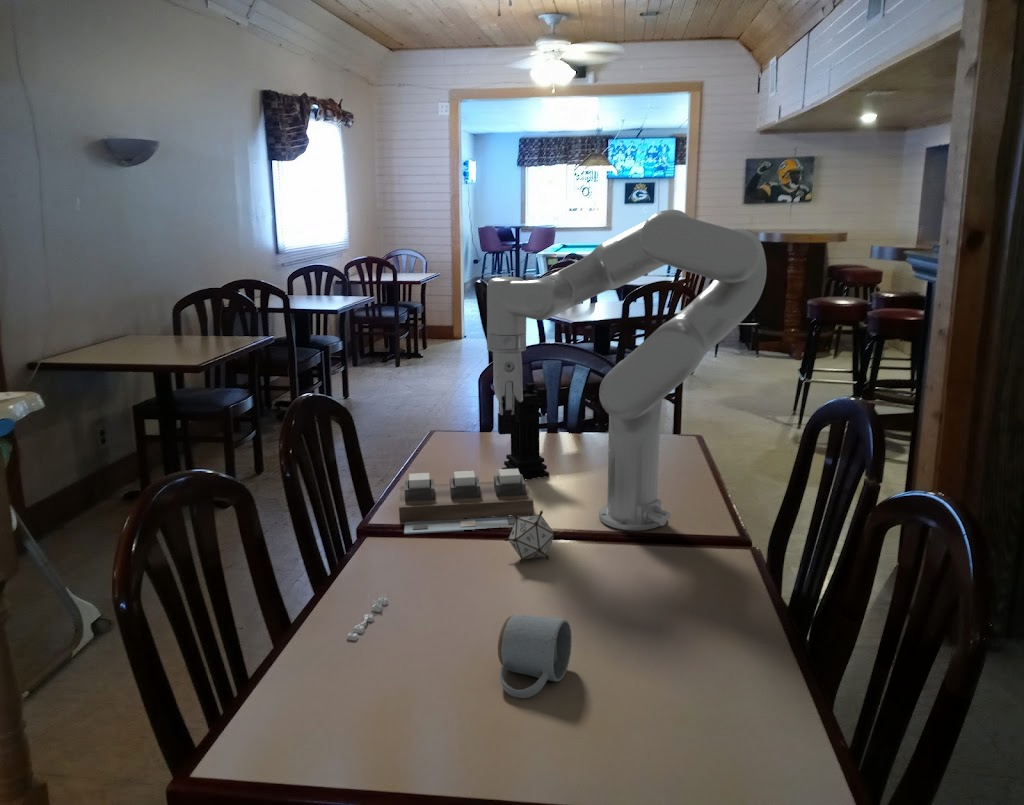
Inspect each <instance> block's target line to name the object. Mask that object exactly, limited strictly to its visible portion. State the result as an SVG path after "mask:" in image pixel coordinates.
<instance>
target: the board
mask: <svg viewBox="0 0 1024 805" xmlns="http://www.w3.org/2000/svg"><path fill="white" fill-rule="evenodd" d="M429 480H430V488H412V489H409V479H405V480H404V485H402V486H400V491H399V505H398V516H399V523H404V530H403V534H404V535H413V534H414V535H415V534H430V533H431V534H432V533H451V532H465V531H464V530H472V531H476V530H475V529H487V528H499V527H501V528H503V527H513V525H514V523H515V520H516V518H515V517H514V516H509V515H514V514H515V515H523V516H517V517H525V516H529V515H528V514H533V515H534V499H533V496H532V494H531V491H530V488H529V486H528V483H527V480H524V478H523V476H522V474H520V483H512V484H499V474H498V475H493V481H483V482H481V481H480V478H479V476H475V485H472V486H455V483H454V477H449V483H441V484H439V483H438V484H435V479H434V478H429ZM492 516H504V517H492ZM479 517H486V518H479ZM464 518H467V519H464Z"/></svg>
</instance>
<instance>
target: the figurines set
mask: <svg viewBox="0 0 1024 805" xmlns="http://www.w3.org/2000/svg"><path fill="white" fill-rule="evenodd" d="M387 594H388V592H387V591H385V594H382V593H380V595H379V598H378V599H377V600H375V599H372V595H371V594H368V595H367V598H368V599H369V600H370V603H371V604H372V606H371V612H375V613H377V612H378V613H381V612H382V611H383V606H387V605H388V604H389V599H388V598H386V597H387ZM374 616H375V615H373V614H367V613H366V614H364V615H363V616H362V622H360V623H359V624H357V625H355V626H354V627H353V629H352V632H349V633H348V634H347V635H346V640H348V641H357V640H359V634H363V633H364V632H365V631H366V628H365V627H364V626H367V623H369V622H370V623H372V622H374V620H375V617H374ZM363 625H364V626H363Z"/></svg>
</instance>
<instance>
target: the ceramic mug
mask: <svg viewBox="0 0 1024 805" xmlns="http://www.w3.org/2000/svg"><path fill="white" fill-rule="evenodd" d="M572 639H573V638H572V628H571V624H570V623H569V621H568V619H566V618H558V617H557V618H556V617H547V616H536V615H529V614H528V615H527V614H512V615H511V616H509V617H507V618H506V619H505V621H504V622H503V624H502V626H501V628H500V631H499V635H498V640H497V656H498V660H499V662H500V665H501V667H500V671H499V679H500V684H501V686H502V689H503V690H504V691H505V693H507V694H508V695H509V696H511V697H513V698H516V697H517V698H516V699H528V698H531V697H534V696H535V695H536V694H538V693H539V692H540V691H541V690H542V689H543V688H544V686H545V685H546V683H547V681H550V682H556V683H557V682H560V681H562V680H563V678H564V676H565V674H566V673H567V669H568V667H569V664H570V659H571V654H572V642H573V641H572ZM508 671H511V672H514V673H517V674H523V675H527V676H529V677H530V676H531V677H534V678H538V679H537V680H536V681H535V682H534V683H533V684H532V685H530V686H529V687H525V688H524V689H516V688H513V686H512V685H509V684H508V683H507V681H506V676H507V672H508Z"/></svg>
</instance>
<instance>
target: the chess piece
mask: <svg viewBox="0 0 1024 805" xmlns="http://www.w3.org/2000/svg"><path fill="white" fill-rule="evenodd" d="M547 394H548V393H547V388H545V387H537V388H536V384H535V383H533V382H527V383H525V388H524V389H523V401H522V402H519V401H517V399H516V397H515V400H514V401H515V403H514V414H515V433H514V434H510V454H505V455H506V457H505V458H506V460H504V461H503V465H504V467H501V469H518V470H519V473H520V474H522V476H523V478H524V480H525V479H530V480H533V479H532V478H536V479H539V478H538V477H541V478H545V477H544V476H547V477H550V472H548V470H547V469H548V466H547V464H545V458H544V457H542V456H540V454H541V453H540V418H542V416H543V415H542V414H543V413H542V412H540V404H545V395H547ZM505 466H506V467H505Z"/></svg>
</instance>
